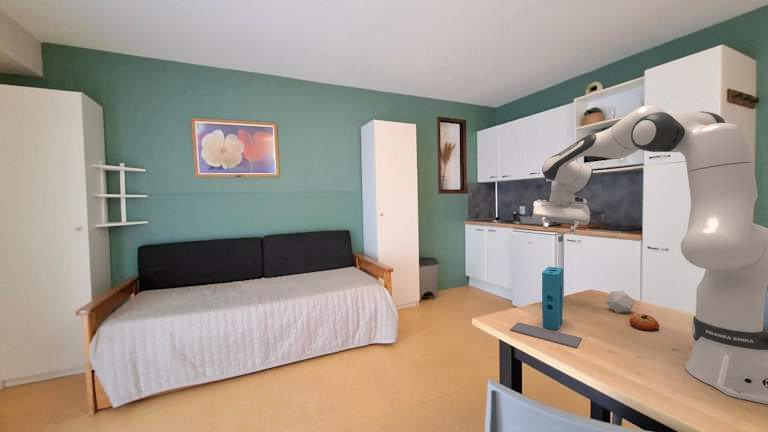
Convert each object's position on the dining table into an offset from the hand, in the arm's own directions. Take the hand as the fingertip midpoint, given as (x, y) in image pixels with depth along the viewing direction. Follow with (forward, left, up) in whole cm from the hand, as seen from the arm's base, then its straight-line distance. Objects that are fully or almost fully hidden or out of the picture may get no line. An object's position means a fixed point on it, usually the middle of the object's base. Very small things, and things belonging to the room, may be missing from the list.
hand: (558, 229), depth 121 cm
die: (-19, -16, -34) cm, 41 cm away
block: (-2, +15, -34) cm, 37 cm away
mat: (-2, +26, -33) cm, 42 cm away
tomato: (-26, -2, -34) cm, 43 cm away
